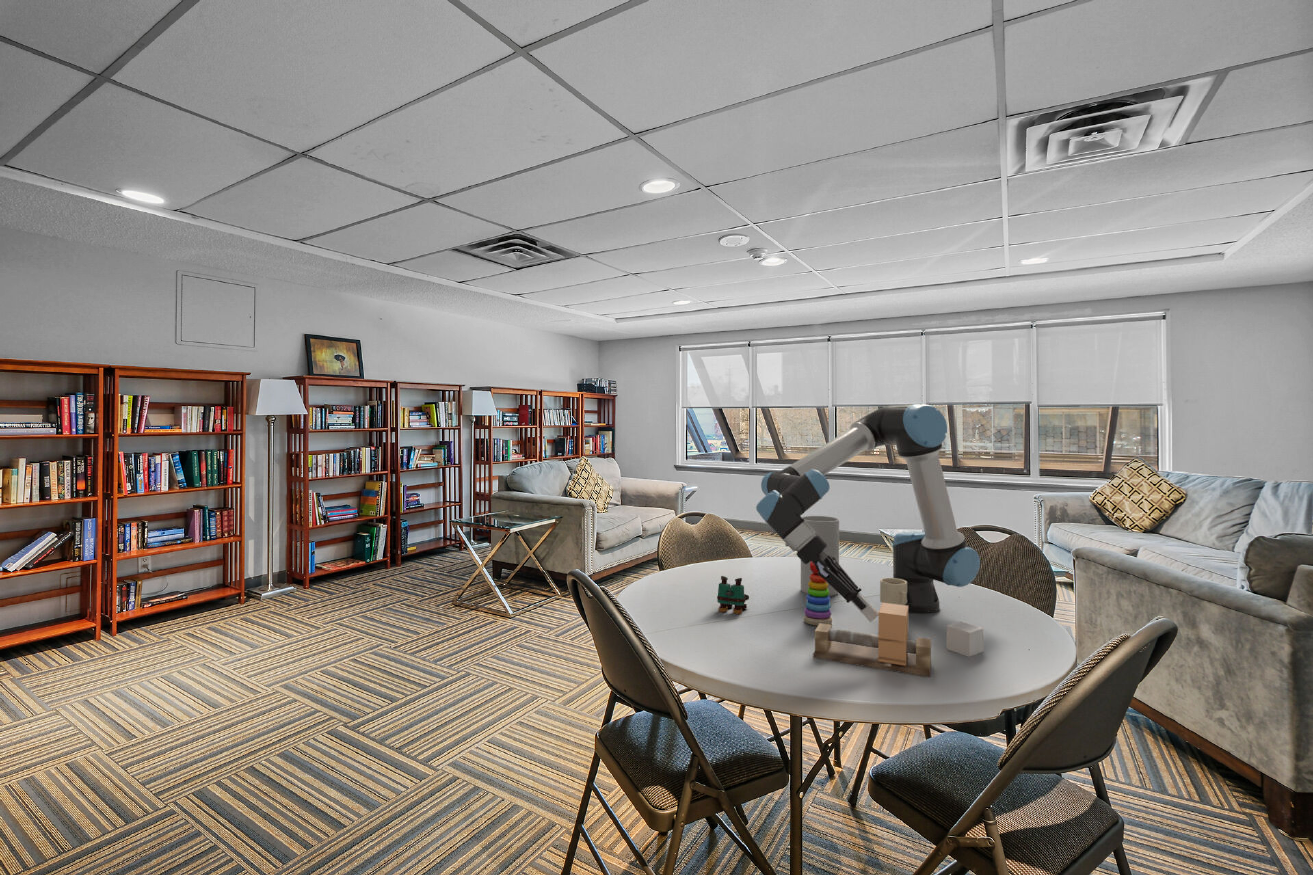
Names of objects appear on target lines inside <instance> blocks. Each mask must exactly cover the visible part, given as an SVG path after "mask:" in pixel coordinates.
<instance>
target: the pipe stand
mask: <svg viewBox="0 0 1313 875" xmlns="http://www.w3.org/2000/svg"><path fill="white" fill-rule="evenodd" d="M878 638H879V634H871V633H864V632H857V631H850V630H843V629H837V628H833V624H822V623H819V625H818V626H816V628H815V630H814V652H812V657H813V658H814V659H820V660H827V661H832V662H836V663H837V662H838V663H843V662H845V664H849V665H850V664H851V665H856V666H861V665H863V666H862V667H868V668H873V667H874V668H873V669H880V670H885V669H887V671H891V672H896V671H899V672H898V673H902V672H903V674H908V673H910V675H915V676H920V675H922V676H921V677H926V676H927V678H930V677H931V666H932V655H931V654H932V639H930V638H926V637H925V638H924V637H918V636H917V637H916V640H911V639H908V640H907V653H908V656H907V662H906V666H904V665H898V664H892V663H886V662H880V661H878Z"/></svg>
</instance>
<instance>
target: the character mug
mask: <svg viewBox="0 0 1313 875" xmlns="http://www.w3.org/2000/svg"><path fill="white" fill-rule="evenodd" d="M879 580H880V582H879V583H880V584H879V586H880V587H879V599H880V600H879V601H880V603H881V604H882V603H890V604H898V605H905V604H906V603H907V581H905V580H902V579H897V578H893V577H883V578H881V579H879Z"/></svg>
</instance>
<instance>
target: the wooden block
mask: <svg viewBox="0 0 1313 875" xmlns="http://www.w3.org/2000/svg"><path fill="white" fill-rule="evenodd" d="M878 613H879V616H878V635H879V638H878V648H877V649H878V661H880V662H886V663H892V664H898V665H904V666H906V662H907V656H908V654H909V653H907V640H909V612H908V606H906V605H898V604H890V603H881V605H880V606H879V610H878Z"/></svg>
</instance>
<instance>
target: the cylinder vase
mask: <svg viewBox="0 0 1313 875" xmlns="http://www.w3.org/2000/svg"><path fill="white" fill-rule="evenodd" d="M801 517H802V518H803V519H804V520H805V521H806V522H807V523H808V525H809V526H810V527H811V528H812V529H813V530H814V531H815V535H816V536H817V535H819V536H820V537H821V538H822V540H823V541H824V542H825V543H826V544H827V547H826V548H825V549H824V550H823V552H825V553H826V554H827V555H828V556H829V555H830V556H831V557H834V558H835V559H836V560H837V562H838V563H839V564H840V518H838V517H835V516H825V515H806V516H805V515H804V516H801ZM810 562H811V561H810ZM810 562H809V563H808V564H804V563H803V562H802V561H801V560H800V591H801V592H802V593H803V594H805V595H808V594H809V593H808V588H809V585H808V583H809V581H811V580H810V575H811V574H812V573H813V572H812V571H811V569H810ZM826 582H827V581H826ZM827 583H828V582H827ZM827 589H828V590H829V595H828V596H829V597H833V596H834V597H835V596H836V595H837V594H839V593H838V592H837V591H836V590H835V589H834V588H833V587H832V586H831V585H830V584H829V583H828V588H827Z"/></svg>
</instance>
